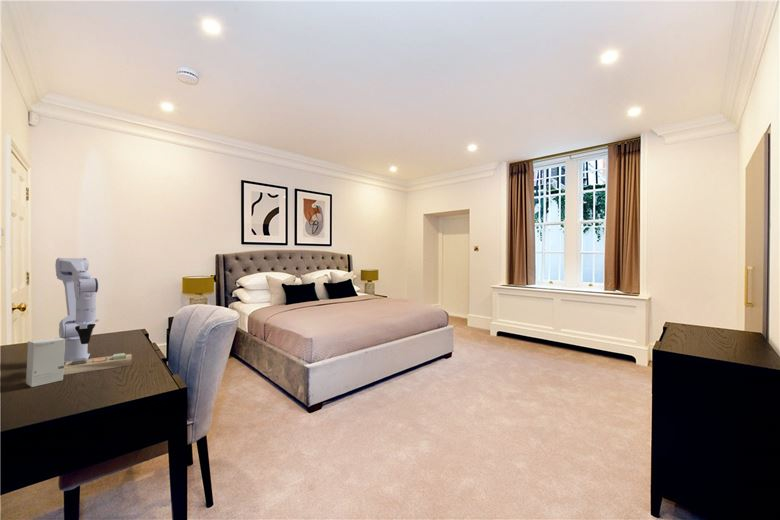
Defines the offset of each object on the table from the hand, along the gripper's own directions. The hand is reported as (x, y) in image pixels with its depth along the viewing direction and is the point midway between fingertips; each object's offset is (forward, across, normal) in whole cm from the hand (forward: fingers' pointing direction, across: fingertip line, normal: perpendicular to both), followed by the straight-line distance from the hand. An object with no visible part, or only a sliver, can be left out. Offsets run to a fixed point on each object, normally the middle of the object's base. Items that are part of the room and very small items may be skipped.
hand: (85, 343), depth 130 cm
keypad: (+9, -2, -4) cm, 11 cm away
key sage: (+8, -2, -10) cm, 13 cm away
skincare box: (+10, -12, +9) cm, 18 cm away
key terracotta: (+9, -2, -4) cm, 10 cm away
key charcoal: (+8, -2, +2) cm, 8 cm away
